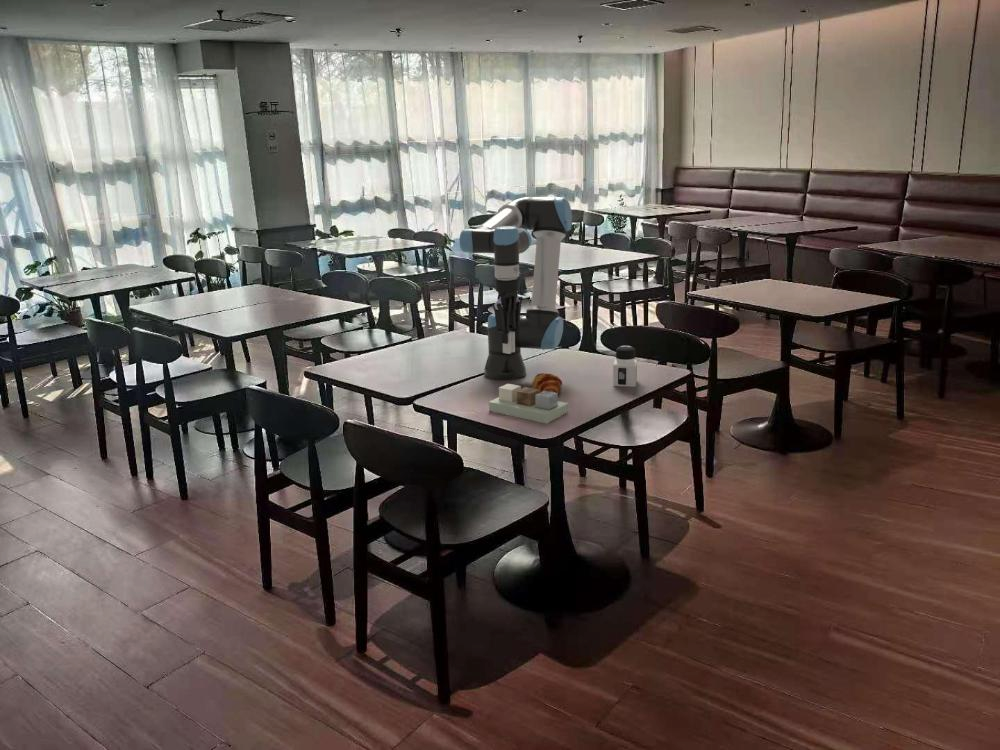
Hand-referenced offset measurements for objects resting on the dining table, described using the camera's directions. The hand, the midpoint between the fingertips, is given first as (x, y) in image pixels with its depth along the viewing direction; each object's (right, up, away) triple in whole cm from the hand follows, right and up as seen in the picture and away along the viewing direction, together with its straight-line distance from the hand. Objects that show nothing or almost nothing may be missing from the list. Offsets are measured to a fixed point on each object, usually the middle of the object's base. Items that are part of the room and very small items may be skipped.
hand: (508, 352), depth 254 cm
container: (+41, -10, +27) cm, 50 cm away
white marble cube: (+12, -18, -3) cm, 22 cm away
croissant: (+13, -13, +21) cm, 28 cm away
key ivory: (0, -16, +5) cm, 16 cm away
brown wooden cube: (+6, -17, +1) cm, 18 cm away
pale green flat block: (+6, -19, +1) cm, 20 cm away
